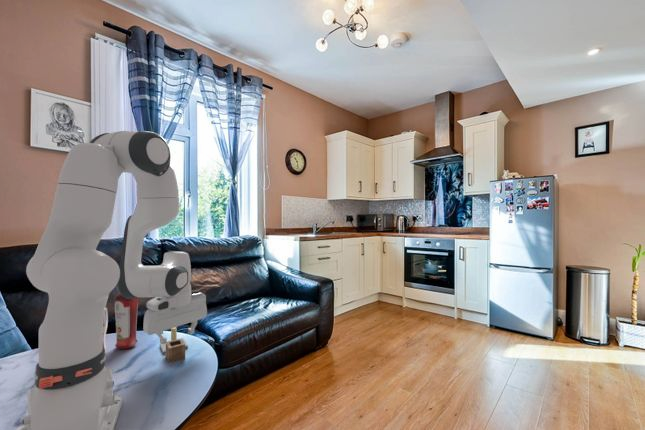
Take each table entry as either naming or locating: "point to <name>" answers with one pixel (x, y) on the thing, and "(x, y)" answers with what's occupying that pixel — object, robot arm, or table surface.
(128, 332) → the liquor
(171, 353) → the collar
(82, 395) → the robot arm
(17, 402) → the table surface
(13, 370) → the table surface
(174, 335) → the post stand
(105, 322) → the beer glass
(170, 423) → the table surface
